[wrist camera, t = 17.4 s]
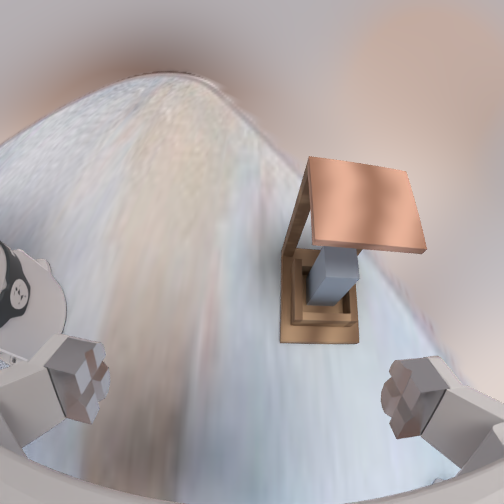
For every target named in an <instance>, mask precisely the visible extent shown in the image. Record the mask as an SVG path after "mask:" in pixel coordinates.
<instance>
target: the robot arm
mask: <svg viewBox="0 0 504 504" xmlns="http://www.w3.org/2000/svg"><path fill="white" fill-rule="evenodd" d="M65 318H66V301H65V296H64V293H63V290H62V288H61V286H60V285H59V283H58V282H57V281H56V280H55V278H54V277H53V276H52V273H51V269H50V265H49V263H48V261H46V260H45V259H33V258H32V257H30V256H29V255H28V254H26V253H25V252H24V251H23V250H21V249H17V250H11V249H10V248H9V247H8V246H7V245H6V244H4V243H2V242H1V241H0V359H1V360H2V361H4V362H5V363H7V364H8V365H10V367H7V368H4V369H2V370H0V504H185V503H178V502H171V501H165V500H159V499H154V498H149V497H144V496H139V495H135V494H131V493H126V492H122V491H118V490H115V489H111V488H107V487H104V486H100V485H97V484H94V483H90V482H87V481H84V480H81V479H78V478H75V477H72V476H69V475H67V474H64V473H61V472H59V471H56V470H53V469H51V468H48V467H46V466H44V465H41V464H39V463H37V462H34V461H32V460H30V459H28V458H27V456H26V454H25V453H24V451H23V450H22V448H23V447H24V446H26V445H27V444H29V443H31V442H32V441H34V440H35V439H37V438H38V437H40V436H41V435H43V434H44V433H46V432H47V431H49V430H50V429H52V428H53V427H55V426H56V425H58V424H59V423H61V422H62V421H64V420H65V419H66V418H69V419H72V420H76V421H80V422H84V423H88V424H92V423H93V421H94V419H95V417H96V415H97V413H98V411H99V409H100V408H99V404H98V402H99V401H101V400H103V399H105V397H106V395H107V393H108V391H109V386H110V372H109V368H108V367H107V365H106V364H105V363H104V362H103V359H104V358H105V356H106V353H105V349H104V345H103V344H102V343H100V342H96V341H91V340H86V339H82V338H77V337H73V336H68V335H64V334H61V333H62V330H63V327H64V324H65ZM15 359H16V362H15ZM389 373H390V375H391V378H390V379H389V380H387V381H386V382H385V383H384V386H383V389H382V392H381V404H382V408H383V410H384V413H385V414H387V415H388V416H390V417H391V420H390V423H389V424H390V426H391V428H392V430H393V433H394V435H395V437H396V439H401V438H408V437H414V436H420V435H421V437H422V438H423V439H424V440H426V441H427V442H428V443H429V444H430V445H432V446H433V447H434V448H435V449H437V450H438V451H439V452H440V453H442V454H443V455H444V456H445V457H447V458H448V459H449V460H450V461H452V462H453V463H454V464H456V465H457V466H458V467H459V468H461V470H460V471H459V472H458V473H457V475H456V476H455V477H454V478H451V479H448V480H445V481H442V482H439V483H435V484H432V485H429V486H425V487H422V488H418V489H415V490H411V491H407V492H403V493H399V494H394V495H390V496H385V497H381V498H375V499H370V500H364V501H358V502H352V503H345V504H504V403H502V402H500V401H498V400H496V399H494V398H492V397H490V396H488V395H486V394H484V393H482V392H480V391H478V390H476V389H474V388H471V387H469V386H463V384H462V383H461V382H460V381H459V379H458V378H457V377H456V376H455V374H454V373H453V372H452V370H451V369H450V368H449V367H448V365H447V364H446V363H445V362H444V361H443V359H442V358H441V357H439V356H430V357H423V358H417V359H404V360H395V361H394V362H393V363H392V365H391V367H390V370H389Z"/></svg>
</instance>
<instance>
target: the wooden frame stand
mask: <svg viewBox="0 0 504 504" xmlns="http://www.w3.org/2000/svg"><path fill="white" fill-rule="evenodd" d="M310 209H311V226H312V245H318V246H330V247H343V248H355V249H356V251H357V256H358V255H359V253H360V252H361V251H362V249H368V250H380V251H392V252H404V253H416V254H422V253H424V252H425V251H426V250H427V247H426V243H425V238H424V234H423V230H422V226H421V222H420V218H419V214H418V210H417V207H416V203H415V199H414V196H413V192H412V189H411V185H410V182H409V179H408V176H407V172H406V171H401V170H396V169H390V168H385V167H379V166H373V165H367V164H361V163H354V162H347V161H341V160H334V159H326V158H318V157H310V156H309V158H308V162H307V165H306V169H305V172H304V176H303V179H302V183H301V186H300V190H299V193H298V197H297V200H296V203H295V207H294V210H293V214H292V217H291V220H290V224H289V227H288V230H287V234H286V237H285V240H284V244H283V247H282V250H281V321H280V343H300V344H357V343H359V327H358V310H357V296H356V283H355V284H354V285H353V286H352V287H351V289H350V290H349V291H348V292H347V293H346V294H345V295H344V296H343V297H342V298H341V299H340V300H339V302H338V303H337V304H336V305H335V306H312V305H306V278H307V276H308V274H309V272H310V270H311V268H312V266H313V265H314V263H315V261H316V259H317V257H318V255H319V253H320V251H321V250H312V249H299V248H296V247H297V244H298V241H299V239H300V236H301V234H302V231H303V228H304V226H305V223H306V220H307V217H308V215H309V212H310Z"/></svg>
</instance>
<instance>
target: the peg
mask: <svg viewBox="0 0 504 504" xmlns="http://www.w3.org/2000/svg"><path fill="white" fill-rule="evenodd" d="M359 279H360V278H359V268H358V259H357V251H356V249H355V248H343V247H330V246H323V248H322V250H321V251H320V253H319V255H318V257H317V259H316V261H315V263H314V265H313V266H312V268H311V270H310V272H309V274H308V276H307V278H306V305H312V306H335V305H336V304H337V303H338V302H339V300H340V299H341V298H342V297H343V296H344V295H345V294H346V293H347V292H348V291H349V290H350V289H351V287H352V286H353V285H354V284H355V283H356V282H357V281H358V280H359Z"/></svg>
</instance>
